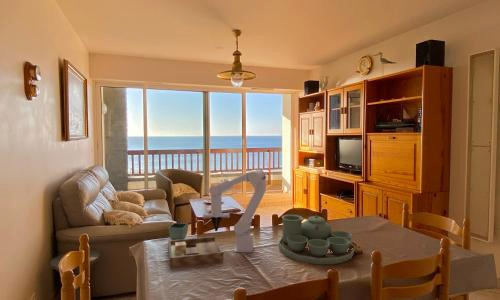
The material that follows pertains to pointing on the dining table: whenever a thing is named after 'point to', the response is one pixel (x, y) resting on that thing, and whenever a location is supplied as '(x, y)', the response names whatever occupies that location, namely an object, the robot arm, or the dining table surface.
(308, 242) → the tea set
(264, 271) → the dining table surface
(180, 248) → the maple block
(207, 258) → the walnut box
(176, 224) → the flower pot
